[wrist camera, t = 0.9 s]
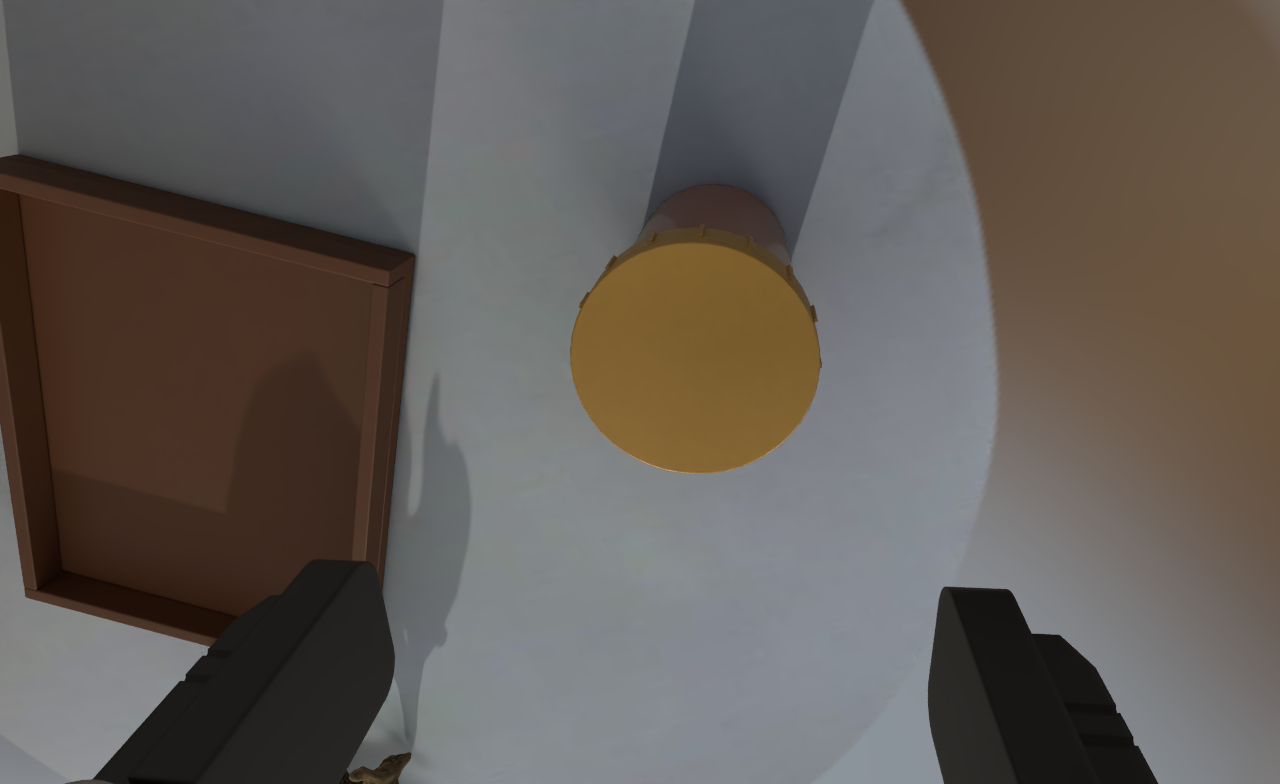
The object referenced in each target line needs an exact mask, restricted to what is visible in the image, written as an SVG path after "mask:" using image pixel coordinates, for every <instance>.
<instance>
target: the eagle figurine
mask: <svg viewBox="0 0 1280 784" xmlns="http://www.w3.org/2000/svg"><path fill="white" fill-rule="evenodd" d="M410 759H411V753H410V752H408V753H405V754H399V755H396V756H395V755H392V756H389V757H388V758H387V759H384V760H383V761H382V763H381V764H380V766H379V767H378V768H377V769H375V770H374V771H373V770H370V769H368V768H366V767H363V766H362V767H360V768H359V769H357V770H354V771H353V772H352V773H351V774H350V775H349V773H348V772H347V770H346V772H345V773H344V775H343V777H342V779H341V781H340V782H339V784H399V782H398V778H399V776H400V774H401V771H402V769H403V768H404V767H405V766H406V764H407V763H408V762H409V761H410Z"/></svg>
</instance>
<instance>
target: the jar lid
mask: <svg viewBox="0 0 1280 784" xmlns="http://www.w3.org/2000/svg"><path fill="white" fill-rule="evenodd" d="M605 268H606V270H605V271H604V272H603V273H602V275H601V276H600V277H599V279H598V280H597V282H596V284H595V285H594V287H593V288H592V290H591V291H590V293H589V292H587V294H586V295H585V297H584V298H583V300H582V301H581V303H580V305H579V307H580V308H581V309H580V311H579V314H578V316H577V319H576V322H575V325H574V329H573V333H572V340H571V348H570V357H571V370H572V376H573V381H574V384H575V387H576V391H577V394H578V396H579V398H580V400H581V403H582V405H583V407H584V409H585V410H586V412H587V414H588V415H589V417H590V418H591V420H592V421H593V423H594V424H595V425H596V426H597V428H598V429H599V430H600V431H601V432H602V433H603V434H604V435H605V436H606V437H607V438H608V439H609V440H610V441H611V442H612V443H613V444H615V445H616V446H617V447H619V448H620V449H621V450H623V451H624V452H626V453H627V454H629V455H631V456H632V457H634V458H636V459H638V460H640V461H642V462H644V463H647V464H649V465H651V466H655V467H658V468H661V469H664V470H669V471H674V472H679V473H690V474H708V473H716V472H723V471H728V470H731V469H735V468H739V467H742V466H744V465H747V464H749V463H752V462H754V461H756V460H758V459H760V458H761V457H763V456H765V455H767V454H768V453H770V452H771V451H772V450H774V449H775V448H776V447H778V446H779V445H780V444H782V443H783V442H784V441H785V440H786V439H787V438H788V437H789V436H790V435H791V434H792V433H793V431H794V430H795V429H796V428H797V426H798V425H799V424H800V423H801V421H802V419H803V418H804V416H805V415H806V413H807V411H808V410H809V407H810V405H811V403H812V400H813V398H814V395H815V392H816V388H817V384H818V381H819V372H820V368H822V362H821V358H820V347H819V341H818V335H817V330H816V326H815V322H817V321H818V320H817V315H816V311H815V307H814V305H812V306H810V303H809V301H808V298H807V296H806V294H805V292H804V290H803V288H802V286H801V285H800V283H799V282H798V280H797V279H796V277H795V276H794V274H793V269H792V267H791V265H790V264H789V265H788V266H786V265H785V264H784V263H783V262H782V261H781V260H780V259H778V258H777V257H776V256H775V255H774V254H772V253H771V252H770V251H768V250H767V249H765V248H764V247H762V246H761V245H759V244H758V243H756V242H754V241H753V237H752V236H749V237H748V239H747V238H745V237H743V236H740V235H737V234H734V233H731V232H727V231H722V230H717V229H711V228H705V224H700V228H684V229H676V230H671V231H667V232H662V233H659V234H657V233H656V231H654V232H652V233H651V235H650V237H648V238H646V239H644V240H642V241H640V242H638V243H637V244H635V245H633V246H631V247H630V248H629V249H627V250H626V251H624V252H623V253H622V254H620V255H619V256H618V257H616V256H615V255H614V256H613V257H612V258H611V260H610V261H609V263H608V264H607V266H606V267H605Z"/></svg>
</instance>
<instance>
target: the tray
mask: <svg viewBox="0 0 1280 784" xmlns="http://www.w3.org/2000/svg"><path fill="white" fill-rule="evenodd" d="M414 259H415V256H414V254H411V253H407V252H403V251H399V250H395V249H391V248H387V247H383V246H379V245H375V244H371V243H367V242H363V241H359V240H355V239H351V238H347V237H343V236H339V235H335V234H331V233H327V232H323V231H319V230H315V229H311V228H307V227H303V226H300V225H296V224H292V223H288V222H284V221H280V220H276V219H272V218H268V217H264V216H260V215H256V214H252V213H248V212H244V211H240V210H236V209H232V208H228V207H224V206H220V205H216V204H212V203H208V202H204V201H200V200H196V199H192V198H188V197H184V196H180V195H176V194H172V193H168V192H164V191H160V190H156V189H152V188H148V187H145V186H141V185H137V184H133V183H129V182H125V181H121V180H117V179H113V178H109V177H105V176H101V175H97V174H93V173H89V172H85V171H81V170H77V169H73V168H69V167H65V166H61V165H57V164H53V163H49V162H45V161H41V160H37V159H33V158H29V157H25V156H21V155H12V156H6V157H1V158H0V425H1V431H2V438H3V445H4V452H5V459H6V466H7V473H8V479H9V486H10V493H11V500H12V507H13V514H14V521H15V527H16V534H17V541H18V548H19V555H20V562H21V569H22V576H23V582H24V587H25V588H24V589H25V596H26V597H27V598H30V599H33V600H37V601H41V602H45V603H48V604H52V605H56V606H60V607H63V608H67V609H71V610H75V611H78V612H82V613H86V614H90V615H93V616H97V617H101V618H104V619H108V620H112V621H116V622H119V623H123V624H127V625H131V626H134V627H138V628H142V629H146V630H149V631H153V632H157V633H161V634H164V635H168V636H172V637H175V638H179V639H183V640H187V641H190V642H194V643H198V644H202V645H205V646H209V647H211V645H212V644H213V643H214V642H215V641H216V640H217V639H218V638H219V636H220V635H221V634H222V633H223V632H224V631H225V630H226V629H227V627H228V626H229V625H230V624H231V623H232V622H233V621H234V620H235V619H236V618H238V617H239V616H241V615H242V614H244V613H245V612H247V611H248V610H250V609H251V608H253V607H254V606H256V605H257V604H259V603H260V602H262V601H263V600H265V599H266V598H268V597H269V596H271V595H281V594H282V592H283V591H284V590H285V589H286V588H287V587H288V585H289V584H290V583H291V582H292V581H293V579H294V578H295V577H296V576H297V575H298V574H299V572H300V571H301V570H302V569H303V568H304V566H305V565H306V564H307V563H309V562H310V561H312V560H314V559H329V560H353V561H369V562H371V563H372V564H373V565H374V567H375V568H376V571H377V573H378V577H379V582H380V586H381V591H382V586H383V576H384V566H385V556H386V545H387V535H388V525H389V515H390V505H391V494H392V484H393V474H394V464H395V453H396V443H397V433H398V423H399V412H400V402H401V392H402V382H403V372H404V361H405V351H406V341H407V331H408V320H409V310H410V300H411V290H412V279H413V269H414Z"/></svg>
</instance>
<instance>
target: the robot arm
mask: <svg viewBox="0 0 1280 784" xmlns="http://www.w3.org/2000/svg"><path fill="white" fill-rule="evenodd" d="M394 665H395V654H394V647H393V642H392V637H391V633H390V628H389V623H388V619H387V614H386V610H385V605H384V600H383V596H382V591H381V586H380V582H379V577H378V573H377V571H376V568H375V567H374V565H373V564H372V563H371V562H369V561H353V560H329V559H314V560H312V561H310V562H309V563H307V564H306V565H305V566H304V568H303V569H302V570H301V571H300V572H299V574H298V575H297V576H296V577H295V578H294V579H293V581H292V582H291V583H290V584H289V585H288V587H287V588H286V589H285V590H284V591H283V592H282V594H281V595H271V596H269V597H268V598H266V599H265V600H263V601H262V602H260V603H259V604H257V605H256V606H254V607H253V608H251V609H250V610H248V611H247V612H245V613H244V614H242V615H241V616H239V617H238V618H236V619H235V620H234V621H233V622H232V623H231V624H230V625H229V626H228V627H227V629H226V630H225V631H224V632H223V633H222V634H221V635H220V636H219V638H218V639H217V640H216V641H215V642H214V643H213V644H212V645H211V647H210V648H209V649H208V654H207V656H202V657H201V658H200V659H199V660H198V661H197V662H196V664H195V665H194V666H193V667H192V668H191V669H190V670H189V671H188V673H187V674H186V679H185V681H180V682H179V683H178V684H177V685H176V686H175V687H174V688H173V689H172V691H171V692H170V693H169V694H168V695H167V696H166V697H165V698H164V700H163V701H162V702H161V703H160V704H159V705H158V706H157V707H156V709H155V710H154V711H153V712H152V713H151V714H150V715H149V716H148V718H147V719H146V720H145V721H144V722H143V723H142V724H141V725H140V727H139V728H138V729H137V730H136V731H135V732H134V733H133V734H132V736H131V737H130V738H129V739H128V740H127V741H126V742H125V743H124V745H123V746H122V747H121V748H120V749H119V750H118V751H117V752H116V754H115V755H114V756H113V757H112V758H111V759H110V760H109V762H108V763H107V764H106V765H105V766H104V767H103V768H102V769H101V771H100V772H99V773H98V774H97V775H96V776H95V777H94V778H93V779H92V780H80V781H75V782H70V783H66V784H339V782H340V781H341V779H342V777H343V775H344V773H345V772H346V770H347V768H348V766H349V764H350V763H351V761H352V759H353V757H354V755H355V754H356V752H357V750H358V748H359V746H360V745H361V743H362V741H363V739H364V737H365V736H366V734H367V732H368V730H369V728H370V727H371V725H372V723H373V721H374V719H375V717H376V716H377V714H378V712H379V710H380V708H381V707H382V705H383V703H384V701H385V699H386V697H387V695H388V693H389V690H390V687H391V683H392V679H393V674H394ZM928 709H929V720H930V727H931V733H932V737H933V742H934V746H935V749H936V753H937V757H938V761H939V765H940V769H941V773H942V777H943V781H944V784H1158V782H1157V781H1156V779H1155V777H1154V775H1153V773H1152V771H1151V769H1150V767H1149V766H1148V764H1147V762H1146V760H1145V758H1144V756H1143V754H1142V753H1141V751H1140V749H1139V747H1138V746H1135V745H1134V742H1133V736H1132V734H1131V732H1130V730H1129V729H1128V727H1127V725H1126V723H1125V721H1124V719H1123V718H1122V716H1121V714H1120V713H1117V711H1116V704H1115V703H1114V701H1113V699H1112V697H1111V695H1110V694H1109V692H1108V690H1107V688H1106V686H1105V684H1104V682H1103V680H1102V679H1101V677H1100V675H1099V673H1098V671H1097V669H1096V668H1095V667H1094V666H1093V665H1092V664H1091V663H1090V662H1089V661H1088V660H1087V659H1085V658H1084V657H1083V656H1082V655H1081V654H1080V653H1079V652H1078V651H1077V650H1076V649H1074V648H1073V647H1072V646H1071V645H1070V644H1069V643H1068V642H1067V641H1066V640H1065V639H1063V638H1062V637H1061V636H1060V635H1050V634H1031V631H1030V629H1029V627H1028V625H1027V623H1026V621H1025V618H1024V616H1023V614H1022V612H1021V610H1020V608H1019V606H1018V604H1017V601H1016V599H1015V597H1014V595H1013V594H1012V592H1011V591H1009V590H1008V589H990V588H965V587H944V588H943V589H942V591H941V594H940V598H939V604H938V612H937V619H936V627H935V635H934V643H933V650H932V659H931V666H930V674H929V682H928Z"/></svg>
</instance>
